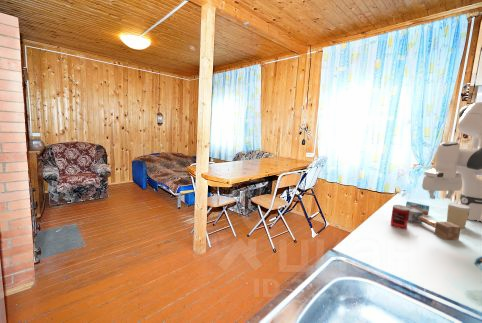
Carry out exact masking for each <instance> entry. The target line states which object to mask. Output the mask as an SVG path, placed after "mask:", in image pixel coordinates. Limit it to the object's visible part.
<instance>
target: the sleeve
mask: <svg viewBox="0 0 482 323" xmlns="http://www.w3.org/2000/svg"><path fill="white" fill-rule="evenodd" d="M419 216H423V217H424V215H423V212H422V211H419V210H417V209H410V211H409V218H408V223H411V224H417V223H419V224H422V223H423V222H421V221H419V220H418V217H419Z"/></svg>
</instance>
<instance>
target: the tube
mask: <svg viewBox="0 0 482 323" xmlns="http://www.w3.org/2000/svg"><path fill="white" fill-rule="evenodd" d="M418 220H419V221H421V222H422V223H423V224H426V225H427V226H430V227H432V228H436V222H437V221H434V220H431V219H429V218H427V217H425V216H424V215H423V216H419V217H418Z"/></svg>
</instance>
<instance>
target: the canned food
mask: <svg viewBox="0 0 482 323" xmlns="http://www.w3.org/2000/svg"><path fill="white" fill-rule="evenodd" d="M409 211H410V208H408V207H406V205H401V204H394V205H392V210H391V219H390V225H391V226H393V227H395V228H397V229H403V230H405V229H407V227H408V223H409V221H408V218H409Z"/></svg>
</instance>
